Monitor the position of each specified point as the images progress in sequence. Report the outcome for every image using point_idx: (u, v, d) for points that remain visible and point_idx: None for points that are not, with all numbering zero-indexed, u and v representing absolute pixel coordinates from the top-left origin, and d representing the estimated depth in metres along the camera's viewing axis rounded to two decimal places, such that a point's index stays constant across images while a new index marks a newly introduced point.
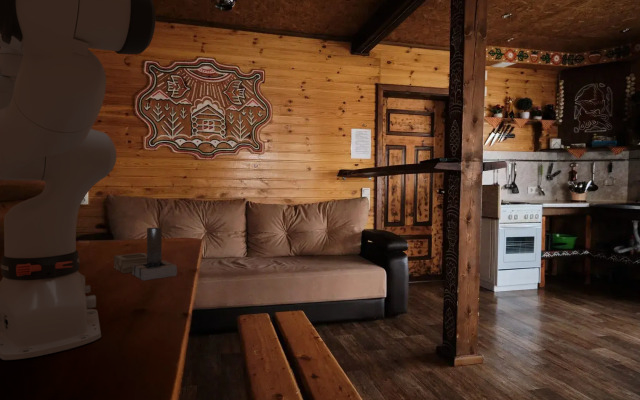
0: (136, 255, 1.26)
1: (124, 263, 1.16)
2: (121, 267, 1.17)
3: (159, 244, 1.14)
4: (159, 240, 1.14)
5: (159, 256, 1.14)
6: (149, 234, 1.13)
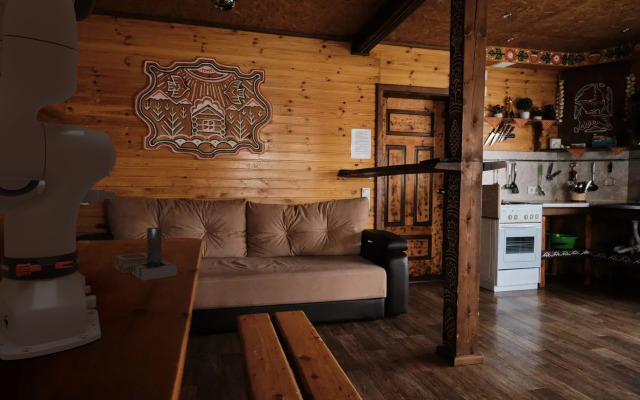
0: (136, 255, 1.26)
1: (124, 263, 1.16)
2: (121, 267, 1.17)
3: (159, 244, 1.14)
4: (159, 240, 1.14)
5: (159, 256, 1.14)
6: (149, 234, 1.13)
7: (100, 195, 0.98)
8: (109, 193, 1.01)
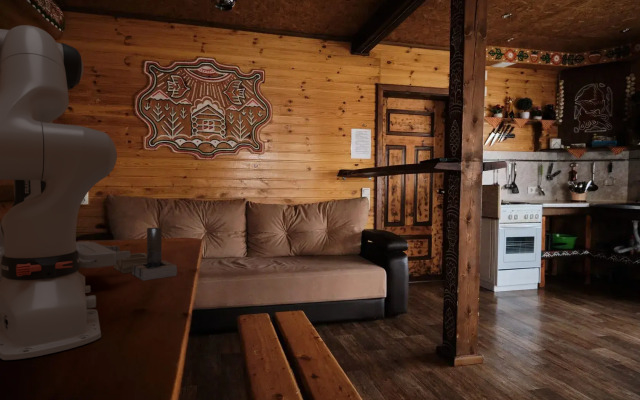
0: (136, 255, 1.26)
1: (124, 263, 1.16)
2: (121, 267, 1.17)
3: (159, 244, 1.14)
4: (159, 240, 1.14)
5: (159, 256, 1.14)
6: (149, 234, 1.13)
7: (116, 256, 1.02)
8: (125, 253, 1.04)
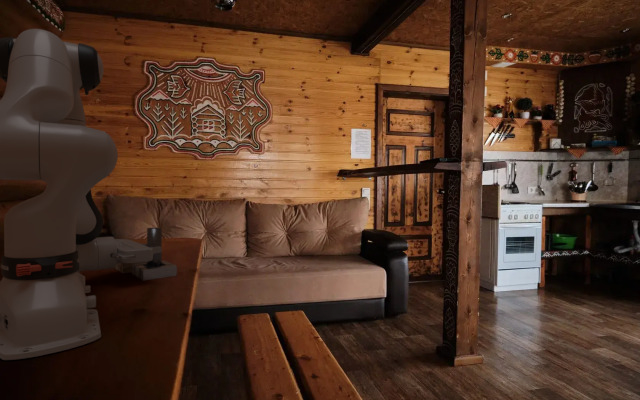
0: None
1: (124, 263, 1.16)
2: (121, 267, 1.17)
3: (159, 244, 1.14)
4: (159, 240, 1.14)
5: (159, 256, 1.14)
6: (149, 234, 1.13)
7: None
8: (157, 248, 1.12)
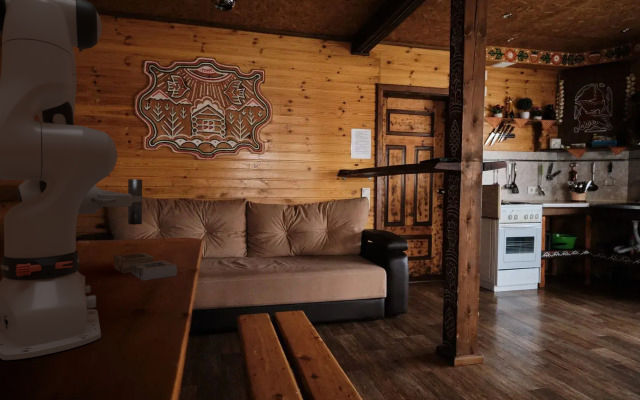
0: (136, 255, 1.26)
1: (124, 263, 1.16)
2: (121, 267, 1.17)
3: (139, 194, 1.20)
4: (139, 190, 1.20)
5: (139, 206, 1.21)
6: (130, 184, 1.19)
7: None
8: (137, 197, 1.18)
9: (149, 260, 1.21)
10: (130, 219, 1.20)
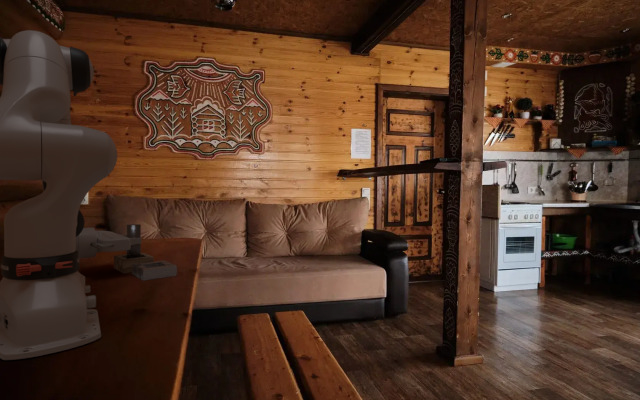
0: None
1: (124, 263, 1.16)
2: (121, 267, 1.17)
3: None
4: (138, 236, 1.21)
5: (138, 251, 1.22)
6: (128, 230, 1.20)
7: None
8: (136, 239, 1.18)
9: (149, 260, 1.21)
10: None
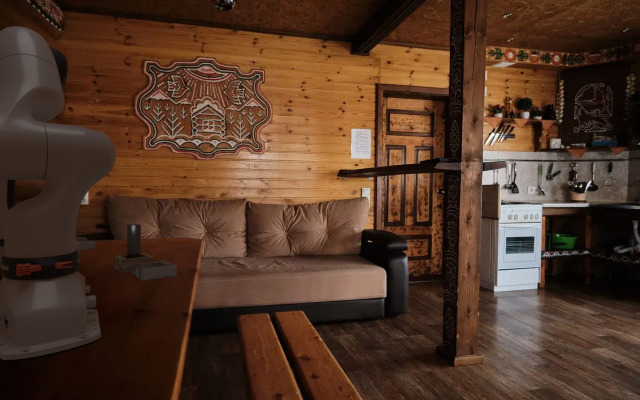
0: None
1: (124, 263, 1.16)
2: (121, 267, 1.17)
3: (138, 240, 1.21)
4: (138, 236, 1.21)
5: (138, 251, 1.21)
6: (129, 230, 1.20)
7: (81, 246, 1.06)
8: (89, 243, 1.09)
9: (149, 260, 1.21)
10: None
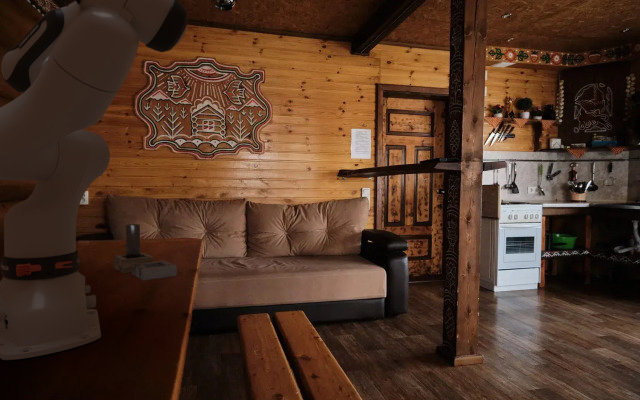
0: None
1: (124, 263, 1.16)
2: (121, 267, 1.17)
3: (137, 239, 1.21)
4: (137, 236, 1.21)
5: (138, 251, 1.21)
6: (128, 230, 1.20)
7: None
8: None
9: (149, 260, 1.21)
10: None
